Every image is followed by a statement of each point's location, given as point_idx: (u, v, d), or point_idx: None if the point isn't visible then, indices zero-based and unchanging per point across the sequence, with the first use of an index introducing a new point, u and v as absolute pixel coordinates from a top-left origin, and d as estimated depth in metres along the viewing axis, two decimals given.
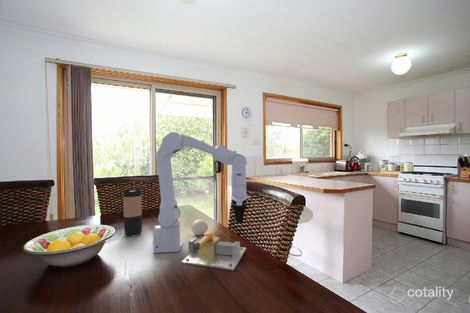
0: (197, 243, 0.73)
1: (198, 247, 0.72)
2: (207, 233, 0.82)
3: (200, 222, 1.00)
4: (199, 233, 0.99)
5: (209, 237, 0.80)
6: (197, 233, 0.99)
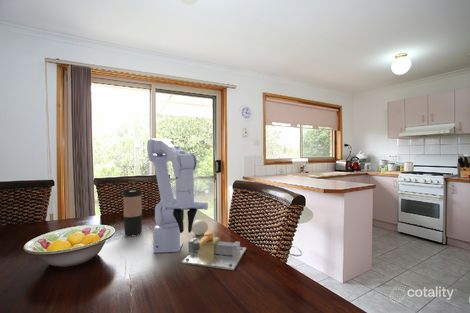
0: (197, 243, 0.73)
1: (198, 247, 0.72)
2: (207, 233, 0.82)
3: (200, 222, 1.00)
4: (199, 233, 0.99)
5: (209, 237, 0.80)
6: (197, 233, 0.99)
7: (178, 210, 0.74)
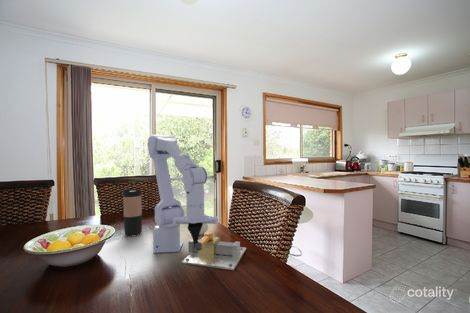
0: (199, 243, 0.73)
1: (200, 247, 0.72)
2: (207, 233, 0.82)
3: None
4: None
5: (209, 237, 0.80)
6: None
7: (188, 224, 0.74)
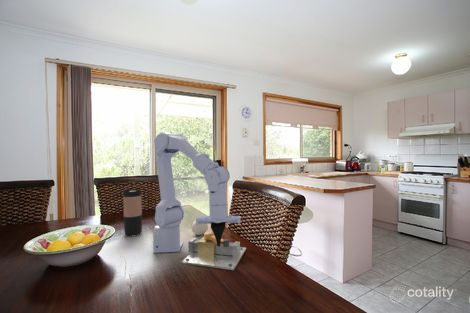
0: (226, 240, 0.75)
1: None
2: (207, 233, 0.82)
3: None
4: (199, 233, 0.99)
5: (213, 236, 0.82)
6: (197, 233, 0.99)
7: (212, 224, 0.74)
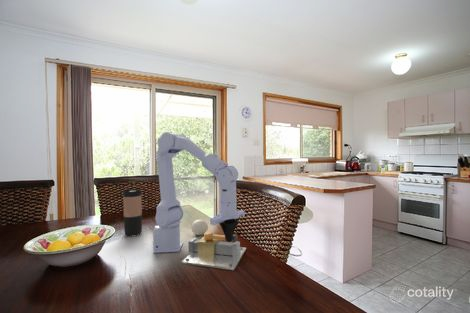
0: (234, 235, 0.80)
1: None
2: (208, 233, 0.82)
3: (200, 222, 1.00)
4: (199, 233, 0.99)
5: None
6: (197, 233, 0.99)
7: (225, 221, 0.76)
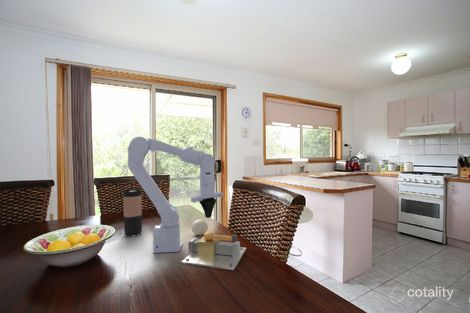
0: (234, 235, 0.80)
1: None
2: (208, 233, 0.82)
3: (200, 222, 1.00)
4: (199, 233, 0.99)
5: None
6: (197, 233, 0.99)
7: (205, 200, 0.90)
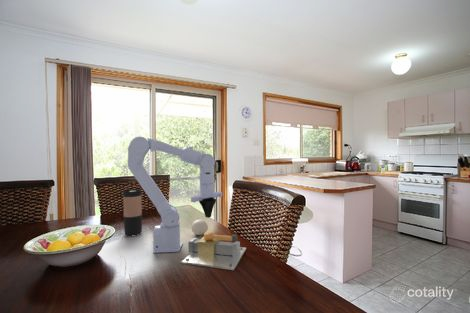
0: (234, 235, 0.80)
1: None
2: (208, 233, 0.82)
3: (200, 222, 1.00)
4: (199, 233, 0.99)
5: None
6: (197, 233, 0.99)
7: (204, 200, 0.90)
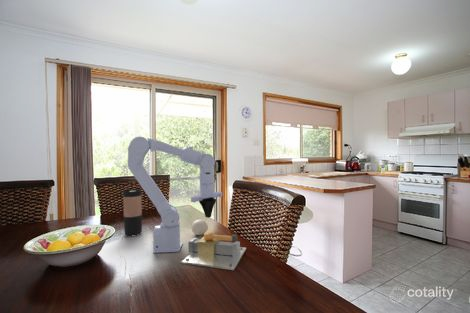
0: (234, 235, 0.80)
1: None
2: (208, 233, 0.82)
3: (200, 222, 1.00)
4: (199, 233, 0.99)
5: None
6: (197, 233, 0.99)
7: (204, 200, 0.90)
